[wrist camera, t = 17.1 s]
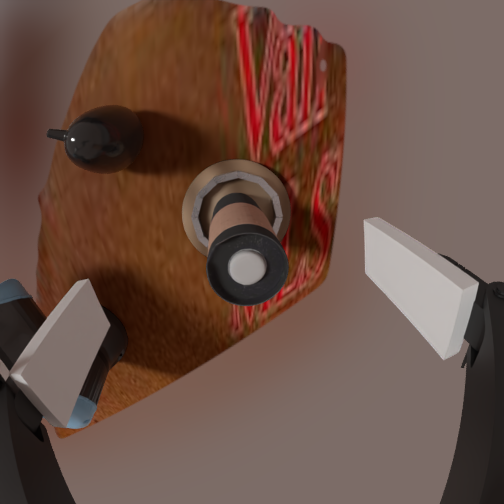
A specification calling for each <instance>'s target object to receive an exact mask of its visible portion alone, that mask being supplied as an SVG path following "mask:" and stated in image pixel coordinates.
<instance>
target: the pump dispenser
mask: <svg viewBox="0 0 504 504" xmlns="http://www.w3.org/2000/svg"><path fill="white" fill-rule="evenodd" d="M47 137H49V138H52V139H56V140H60V141H64V148H65V152H66V154H67V156H68V158H69V159H70V160H71V161H72V162H73V163H74V164H75V165H76V166H78V167H80V168H82V169H84V170H87V171H90V172H94V173H100V174H110V173H116V172H119V171H121V170H123V169H125V168H127V167H128V166H130V165H131V164H132V163H133V162H134V161H135V159H136V158H137V156H138V155H139V153H140V151H141V148H142V145H143V139H144V133H143V127H142V124H141V121H140V119H139V118H138V116H137V115H136V114H135V113H134V112H133V111H132V110H130V109H128V108H126V107H123V106H119V105H107V106H101V107H97V108H94V109H91V110H89V111H87V112H85V113H83V114H82V115H80V116H79V117H78V118H76V119H75V120H74V121H73V122H72V124H71V125H70V126H69V128H68V130H59V129H49V130H48V131H47Z"/></svg>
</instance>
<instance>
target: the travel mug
mask: <svg viewBox="0 0 504 504" xmlns="http://www.w3.org/2000/svg"><path fill="white" fill-rule="evenodd" d="M288 268H289V267H288V259H287V255H286V253H285V251H284V249H283V247H282V245H281V243H280V241H279V239H278V238H277V236H276V234H275V232H274V230H273V228H272V226H271V225H270V223H269V221H268V219H267V217H266V216H265V214H264V213H263V212H262V210H261V209H260V207H259V206H258V205H257V203H256V202H255V201H254V200H253V199H252V198H251V197H249V196H248V195H246V194H243V193H231V194H228V195H225V196H224V197H222V198H221V199H220V200H219V201H218V202H217V204H216V206H215V208H214V211H213V216H212V220H211V224H210V231H209V243H208V256H207V264H206V272H207V277H208V280H209V283H210V285H211V287H212V289H213V290H214V292H215V293H216V294H217V295H218V296H219V297H221V298H222V299H223V300H225V301H227V302H229V303H232V304H235V305H239V306H253V305H258V304H261V303H263V302H266V301H268V300H269V299H271V298H272V297H274V296H275V295H276V294H277V293H278V292H279V291H280V290H281V288H282V287H283V285H284V283H285V281H286V279H287V275H288Z"/></svg>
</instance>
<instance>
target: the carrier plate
mask: <svg viewBox="0 0 504 504" xmlns="http://www.w3.org/2000/svg"><path fill="white" fill-rule="evenodd" d="M231 193H243V194H246V195H248V196H249V197H251V198H252V199H253V200H254V201H255V202H256V203H257V205H258V206H259V207H260V209H261V210H262V212H263V213H264V214H265V216H266V217H267V219H268V221H269V223H270V225H271V226H272V228H273V230H274V232H275V234H276V236H277V238H278V239H279V241H280V242H281V241H282V239H283V237H284V236H285V234H286V231H287V229H288V226H289V222H290V216H291V207H290V201H289V197H288V194H287V191H286V189H285V187H284V186H283V184H282V182H281V181H280V180H279V179H278V177H277V176H276V175H275V174H274V173H273V172H271V171H270V170H269V169H267V168H266V167H264V166H262V165H260V164H258V163H255V162H252V161H248V160H242V159H230V160H225V161H221V162H218V163H215V164H213V165H211V166H209V167H208V168H206V169H205V170H203V171H202V172H201V173H200V174H199V175H198V176H197V177H196V178H195V179H194V181H193V182H192V183H191V185H190V187H189V188H188V190H187V192H186V195H185V198H184V201H183V207H182V220H183V225H184V229H185V231H186V234H187V236H188V238H189V240H190V241H191V243H192V244H193V245H194V247H195V248H196V249H197V250H198V251H200V252H201V253H202V254H203V255H205V256H206V257H207V256H208V243H209V231H210V224H211V220H212V216H213V211H214V208H215V206H216V204H217V202H218V201H219V200H220V199H221V198H222V197H224V196H225V195H228V194H231Z"/></svg>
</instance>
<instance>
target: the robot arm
mask: <svg viewBox="0 0 504 504" xmlns="http://www.w3.org/2000/svg"><path fill="white" fill-rule="evenodd" d="M364 238H365V273H366V274H367V275H368V276H369V277H370V278H371V280H372V281H373V282H374V283H375V284H376V285H377V286H378V287H379V288H380V289H381V290H382V291H383V292H384V293H385V294H386V295H387V296H388V298H389V299H390V300H391V301H392V302H393V303H394V304H395V305H396V306H397V307H398V308H399V310H400V311H401V312H402V313H403V314H404V315H405V316H406V317H407V318H408V320H409V321H410V322H411V323H412V324H413V325H414V326H415V327H416V329H417V330H418V331H419V332H420V333H421V334H422V335H423V337H424V338H425V339H426V340H427V341H428V342H429V344H430V345H431V346H432V347H433V348H434V350H435V351H436V352H437V353H438V354H439V356H440V357H441V358H442V359H443V360H445V359H447V358H449V357H451V356H453V355H454V354H456V353H458V352H459V351H460V348H461V345H462V342H463V340H464V339H465V340H466V341H467V342H468V343H469V347H468V350H467V353H466V355H465V358H464V360H463V363H462V366H461V368H464V366H465V364H466V363H467V366H466V367H467V368H466V383H465V394H464V402H463V410H462V417H461V423H460V429H459V434H458V440H457V445H456V450H455V454H454V458H453V462H452V466H451V470H450V473H449V477H448V480H447V484H446V487H445V490H444V493H443V496H442V499H441V502H440V504H504V283H503V282H492V283H489V284H487V283H486V282H484V281H483V280H481V279H480V278H479V277H477V276H476V275H475V274H473V273H472V272H470V271H469V270H467V269H465V267H463V266H462V265H460V264H459V265H458V263H457V262H456V261H454V260H453V259H451V258H450V257H447V256H444V255H441V254H437V253H436V252H434V251H433V250H431V249H430V248H428V247H426V246H425V245H423V244H422V243H420V242H419V241H417V240H415V239H414V238H412V237H411V236H409V235H407V234H406V233H404V232H402V231H401V230H399V229H397V228H396V227H394V226H392V225H391V224H389V223H387V222H386V221H384V220H382V219H381V218H379V217H375V218H370V219H365V220H364ZM127 344H128V338H127V333H126V330H125V328H124V326H123V325H122V323H121V322H120V320H119V319H118V318H117V317H116V316H115V315H114V314H113V313H112V312H110V311H109V310H107V309H106V308H104V307H102V306H101V305H100V303H99V301H98V299H97V296H96V294H95V292H94V290H93V287H92V285H91V283H90V281H89V279H85V280H81V281H77V282H76V283H75V284H74V285H73V287H72V288H71V289H70V290H69V291H68V293H67V294H66V295H65V296H64V298H63V299H62V300H61V301H60V302H59V304H58V305H57V306H56V307H55V309H54V310H53V311H52V313H51V314H50V315H49V316H48V318H46V316H45V315H44V314H43V312H42V311H41V310H40V308H39V307H38V306H37V304H36V303H35V302H34V300H33V299H32V296H31V295H29V294H28V293H27V291H26V290H25V288H24V287H23V286H22V284H21V283H20V282H19V281H18V280H16V279H8V280H6V281H4V282H2V283H1V284H0V504H76V503H75V501H74V499H73V497H72V495H71V493H70V491H69V489H68V486H67V484H66V482H65V480H64V477H63V475H62V473H61V470H60V467H59V465H58V462H57V460H56V458H55V454H54V451H53V449H52V446H51V443H50V440H49V436H48V433H47V430H46V428H45V426H44V425H43V424H42V423H41V420H42V418H45V419H46V420H47V421H48V422H49V423H50V424H51V425H52V426H55V427H61V428H66V427H67V428H74V429H77V428H83V427H86V426H87V425H88V424H89V423H90V422H91V419H92V417H93V415H94V413H95V411H96V409H97V404H98V400H99V397H100V394H101V391H102V389H103V386H104V383H105V380H106V377H107V374H108V372H109V370H110V369H111V368H112V367H113V366H114V365H115V364H116V363H117V362H118V361H119V360H120V359H121V358H122V357H123V355H124V353H125V350H126V348H127Z"/></svg>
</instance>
